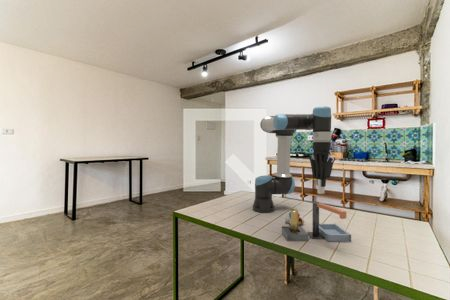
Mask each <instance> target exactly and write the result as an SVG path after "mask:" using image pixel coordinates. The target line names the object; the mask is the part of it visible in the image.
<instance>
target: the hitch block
mask: <svg viewBox="0 0 450 300" xmlns="http://www.w3.org/2000/svg"><path fill="white" fill-rule="evenodd" d="M307 232H308V231H306V230H305V228H303V227H302V225H298V232H291V225H290V226H287V225H286V226H281V233H282V235H283V237H284V238H285V240H286V241H287V242H306V241H307V242H309V235H308V233H307Z"/></svg>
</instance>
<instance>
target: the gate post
mask: <svg viewBox="0 0 450 300" xmlns="http://www.w3.org/2000/svg"><path fill="white" fill-rule="evenodd" d="M319 224H320V207H317V206H313V205H312V227H311V228H312V230H311V231H306V232H307V233H308V237H309V238H311V240H325V237H324V236H323V235H322V234H321V233H320V232H319Z"/></svg>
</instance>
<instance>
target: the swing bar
mask: <svg viewBox="0 0 450 300" xmlns="http://www.w3.org/2000/svg"><path fill="white" fill-rule="evenodd" d="M313 206H317V207H319V209H323V210H325V211H328V212H332V213H334V214H337V215H339V219H341V220H344V219H347V211H346V210H343V209H340V208H337V207H334V206H331V205H328V204H325V203H323V202H319V201H312V207H313Z"/></svg>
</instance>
